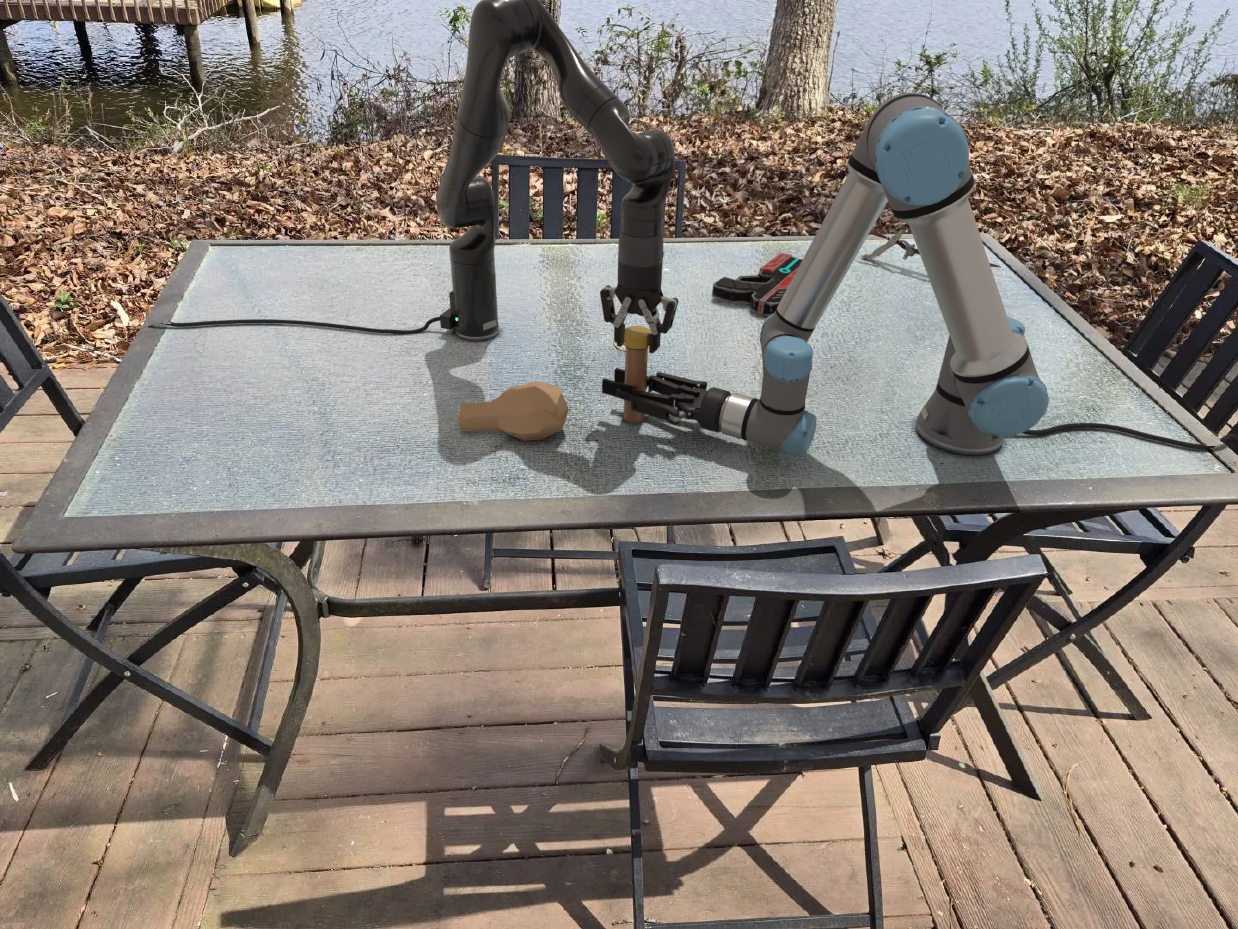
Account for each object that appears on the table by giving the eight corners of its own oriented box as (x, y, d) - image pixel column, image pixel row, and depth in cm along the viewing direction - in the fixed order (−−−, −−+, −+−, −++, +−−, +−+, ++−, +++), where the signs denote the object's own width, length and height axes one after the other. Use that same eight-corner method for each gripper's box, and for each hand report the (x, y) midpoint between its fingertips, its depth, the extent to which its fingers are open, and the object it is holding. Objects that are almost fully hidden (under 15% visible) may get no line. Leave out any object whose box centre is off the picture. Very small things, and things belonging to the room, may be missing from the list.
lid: (652, 339, 157) (652, 326, 156) (648, 350, 153) (648, 338, 152) (626, 336, 158) (626, 324, 156) (621, 348, 154) (622, 335, 153)
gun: (708, 284, 207) (784, 305, 199) (760, 245, 229) (831, 262, 221) (706, 302, 209) (781, 323, 201) (758, 261, 231) (828, 278, 223)
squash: (570, 447, 155) (562, 408, 149) (459, 455, 156) (447, 417, 150) (573, 407, 163) (565, 369, 157) (467, 416, 164) (456, 378, 158)
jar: (641, 424, 162) (645, 340, 152) (620, 421, 163) (623, 337, 153) (647, 414, 165) (651, 331, 156) (626, 410, 166) (629, 327, 157)
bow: (994, 294, 218) (1005, 255, 212) (991, 296, 216) (1002, 257, 211) (857, 254, 239) (863, 218, 233) (853, 256, 238) (860, 219, 232)
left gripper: (592, 257, 146) (591, 349, 155) (673, 271, 142) (667, 364, 151) (609, 243, 152) (607, 332, 161) (688, 256, 147) (681, 347, 157)
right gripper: (705, 453, 149) (586, 418, 158) (742, 410, 162) (630, 379, 171) (708, 415, 145) (586, 381, 154) (746, 374, 158) (631, 344, 167)
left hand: (636, 347), depth 156 cm, fingers open, 5 cm apart
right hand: (609, 380), depth 162 cm, fingers closed on jar, 4 cm apart
